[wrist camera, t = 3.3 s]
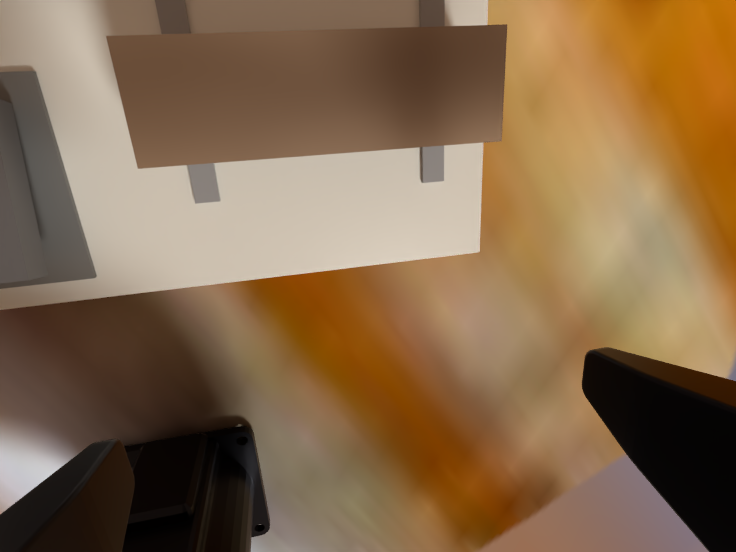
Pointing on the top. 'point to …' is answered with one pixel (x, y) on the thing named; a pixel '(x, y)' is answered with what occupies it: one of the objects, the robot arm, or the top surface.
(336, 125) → the slider bar
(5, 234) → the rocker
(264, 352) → the top surface
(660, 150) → the top surface
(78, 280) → the panel
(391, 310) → the top surface
